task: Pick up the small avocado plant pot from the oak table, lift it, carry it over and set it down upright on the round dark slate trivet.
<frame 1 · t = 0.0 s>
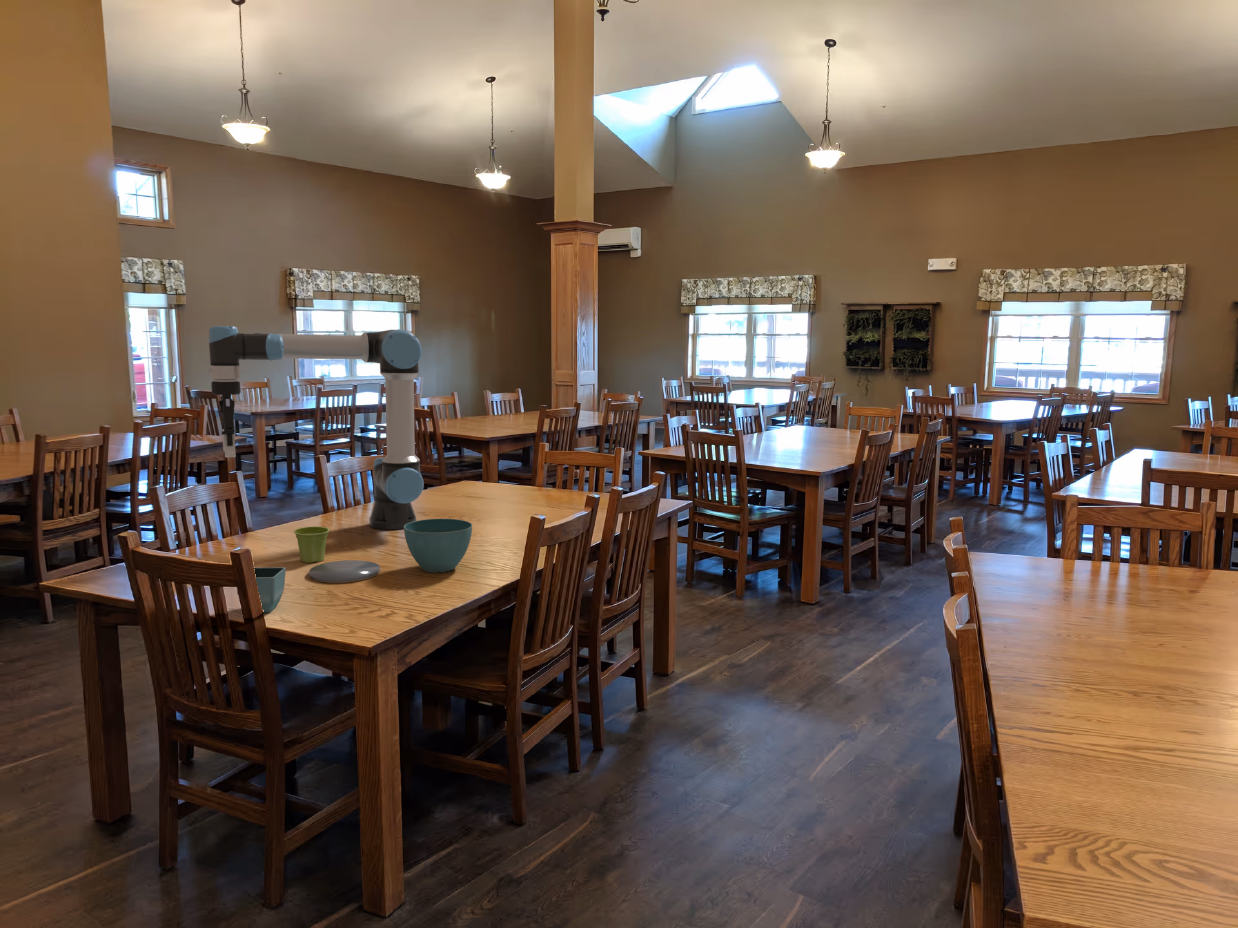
hand: (229, 454, 242), 28 cm above the table, fingers open, 13 cm apart
plant pot 2: (312, 560, 235), on the table
trivet: (345, 573, 222), on the table
plant pot: (438, 569, 229), on the table
flower pot: (262, 610, 192), on the table
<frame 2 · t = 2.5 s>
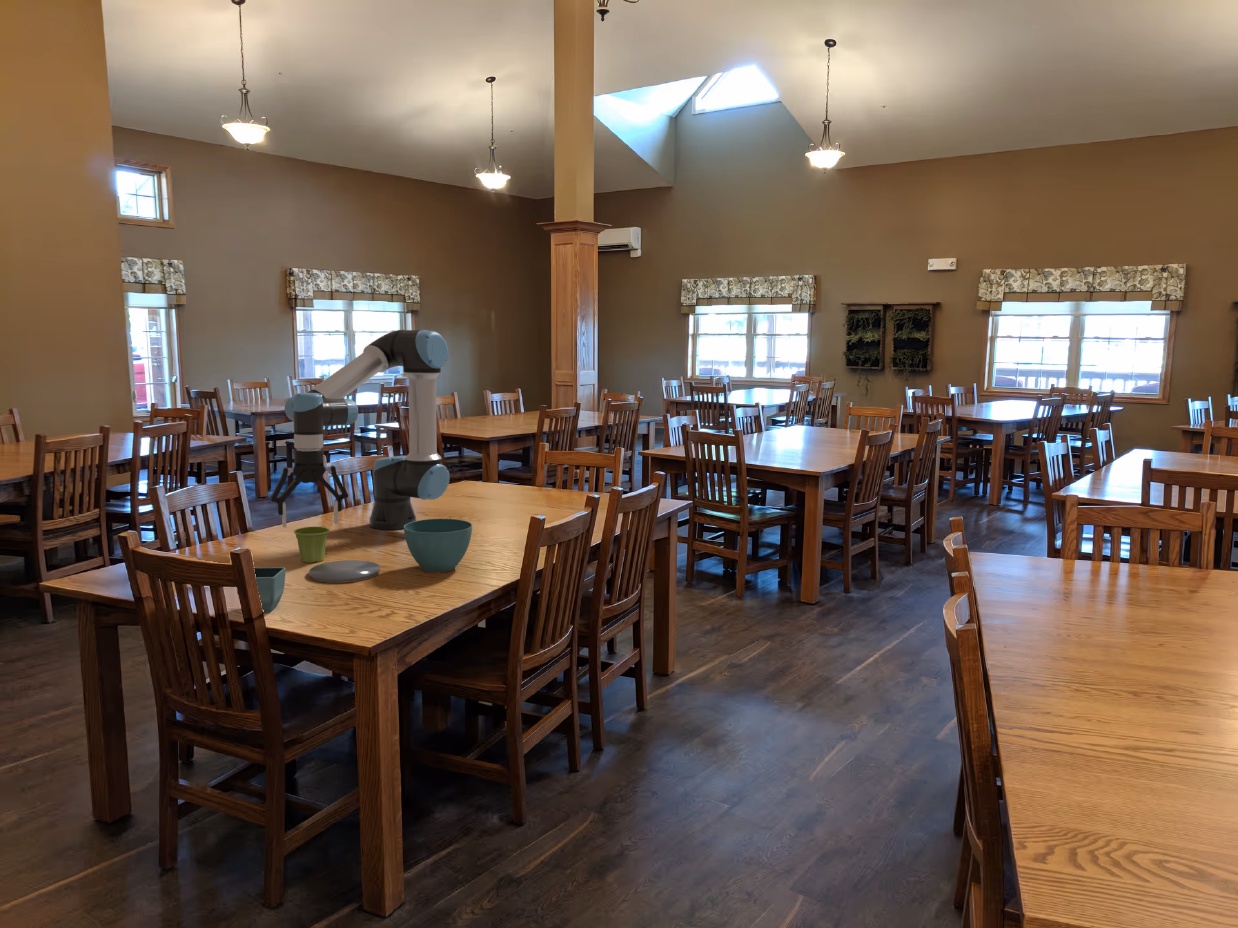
hand: (310, 524, 233), 10 cm above the table, fingers open, 13 cm apart
nothing on the table moved.
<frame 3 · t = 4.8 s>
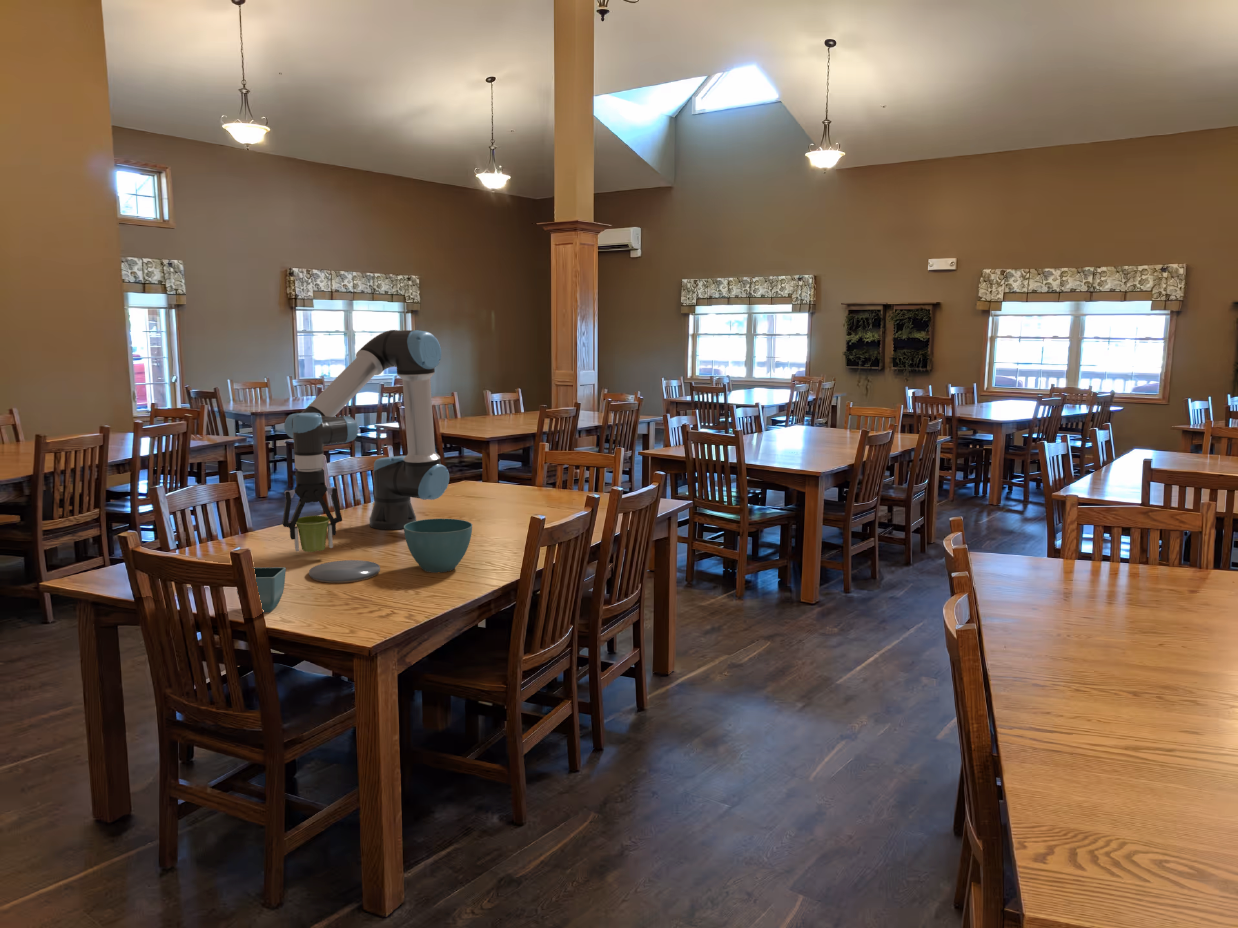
hand: (314, 548, 234), 3 cm above the table, fingers closed on plant pot 2, 8 cm apart
plant pot 2: (313, 550, 235), point 3 cm above the table, touching gripper
everything else where it was.
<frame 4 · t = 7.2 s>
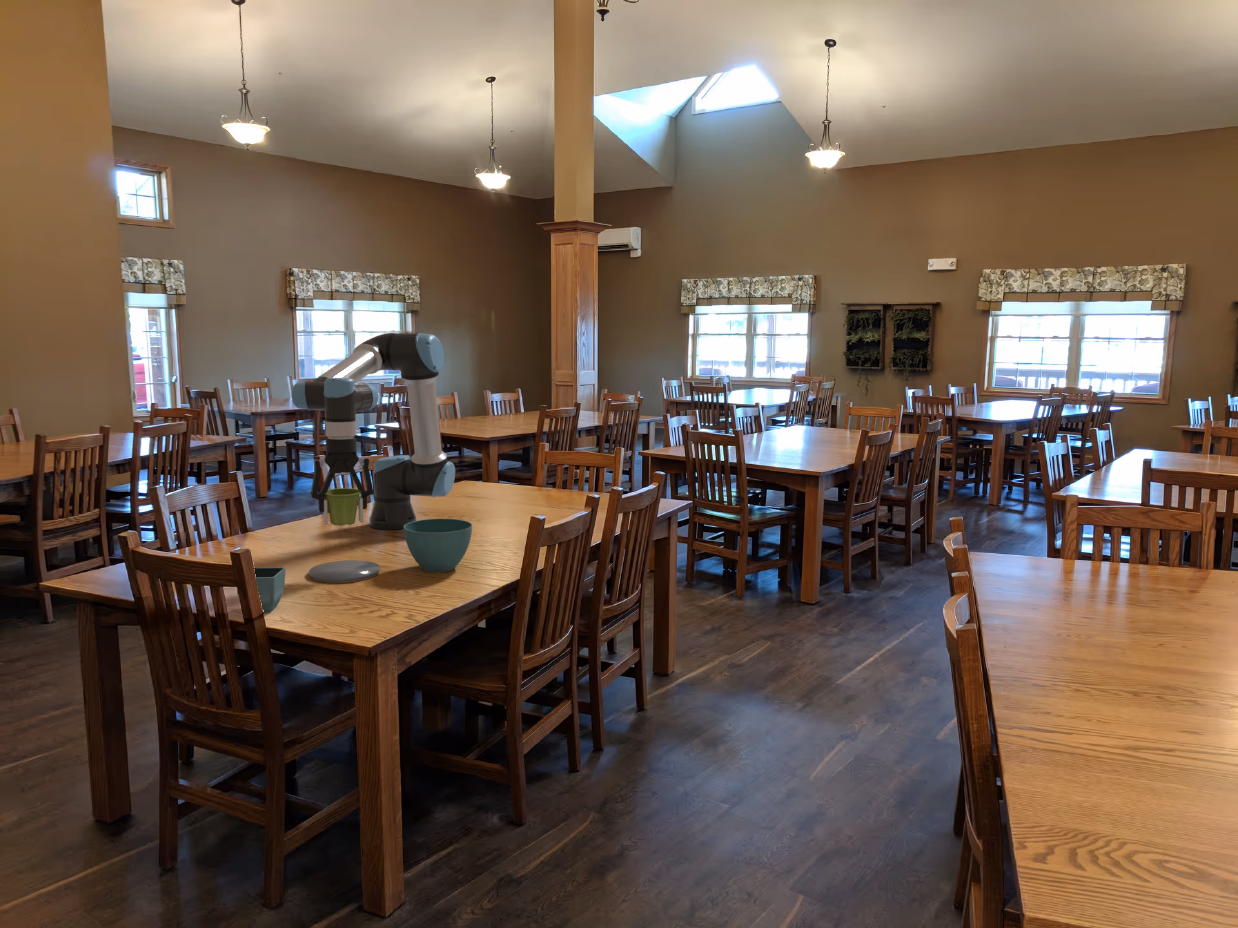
hand: (343, 522, 220), 14 cm above the table, fingers closed on plant pot 2, 8 cm apart
plant pot 2: (343, 524, 220), point 13 cm above the table, touching gripper
everything else where it was.
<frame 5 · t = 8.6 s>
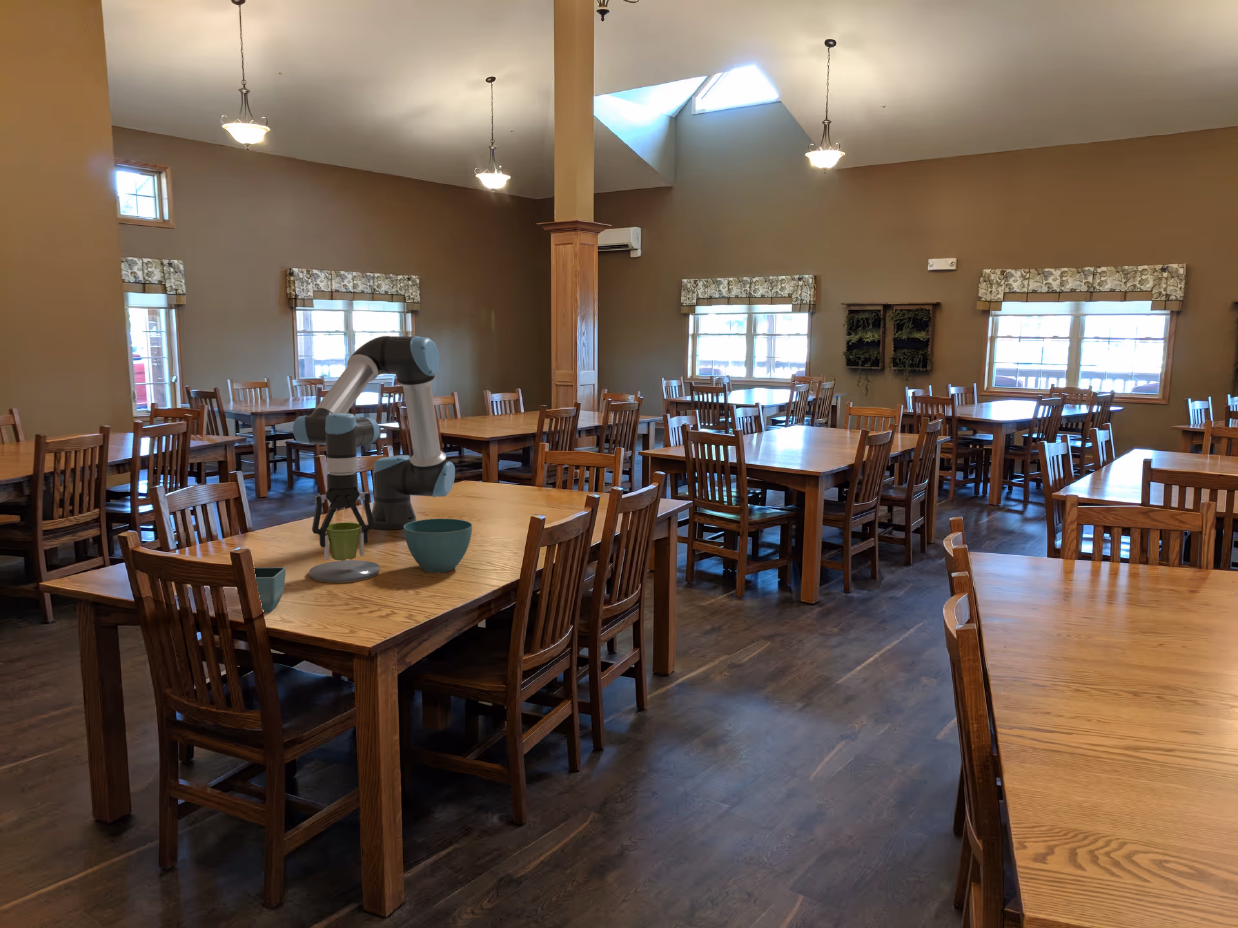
hand: (344, 556, 221), 5 cm above the table, fingers closed on plant pot 2, 8 cm apart
plant pot 2: (344, 558, 222), point 4 cm above the table, touching gripper
everything else where it was.
when the fingers open (2 cm above the table, at t = 9.7 s): plant pot 2 stays where it is, resting on trivet.
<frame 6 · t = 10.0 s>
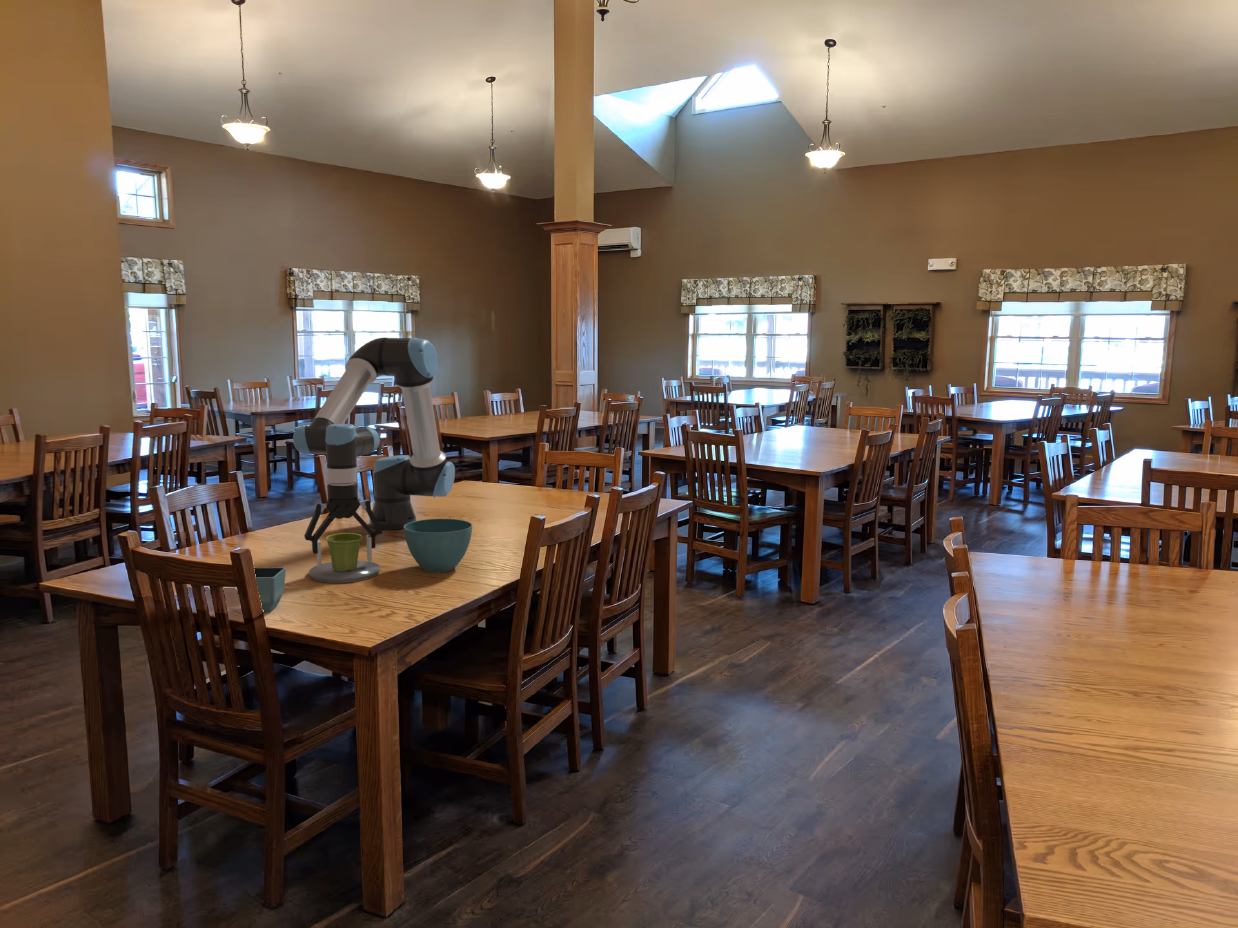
hand: (344, 562, 222), 3 cm above the table, fingers open, 12 cm apart
plant pot 2: (345, 569, 222), point 1 cm above the table, touching trivet
everything else where it was.
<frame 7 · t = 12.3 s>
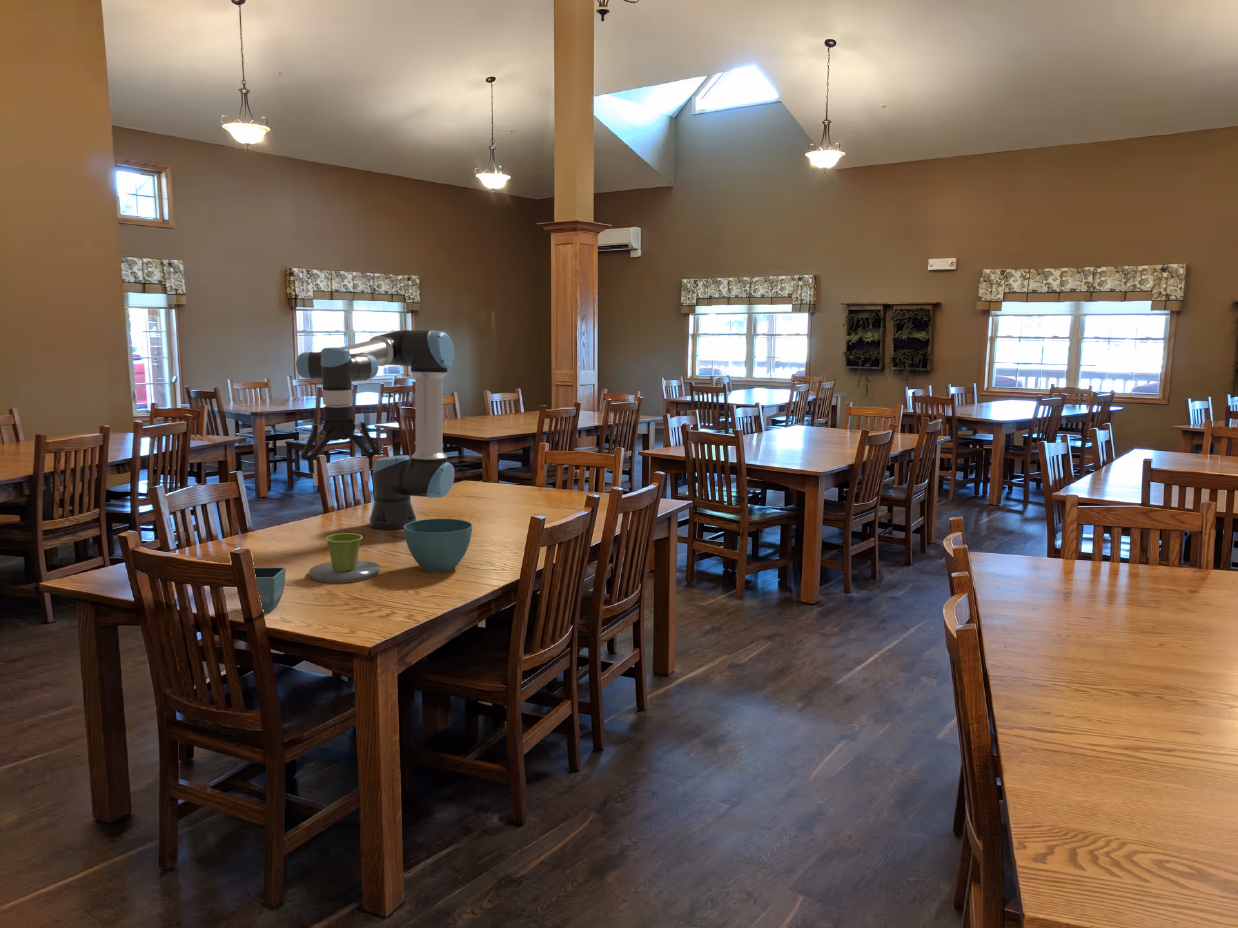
hand: (341, 482, 228), 23 cm above the table, fingers open, 13 cm apart
nothing on the table moved.
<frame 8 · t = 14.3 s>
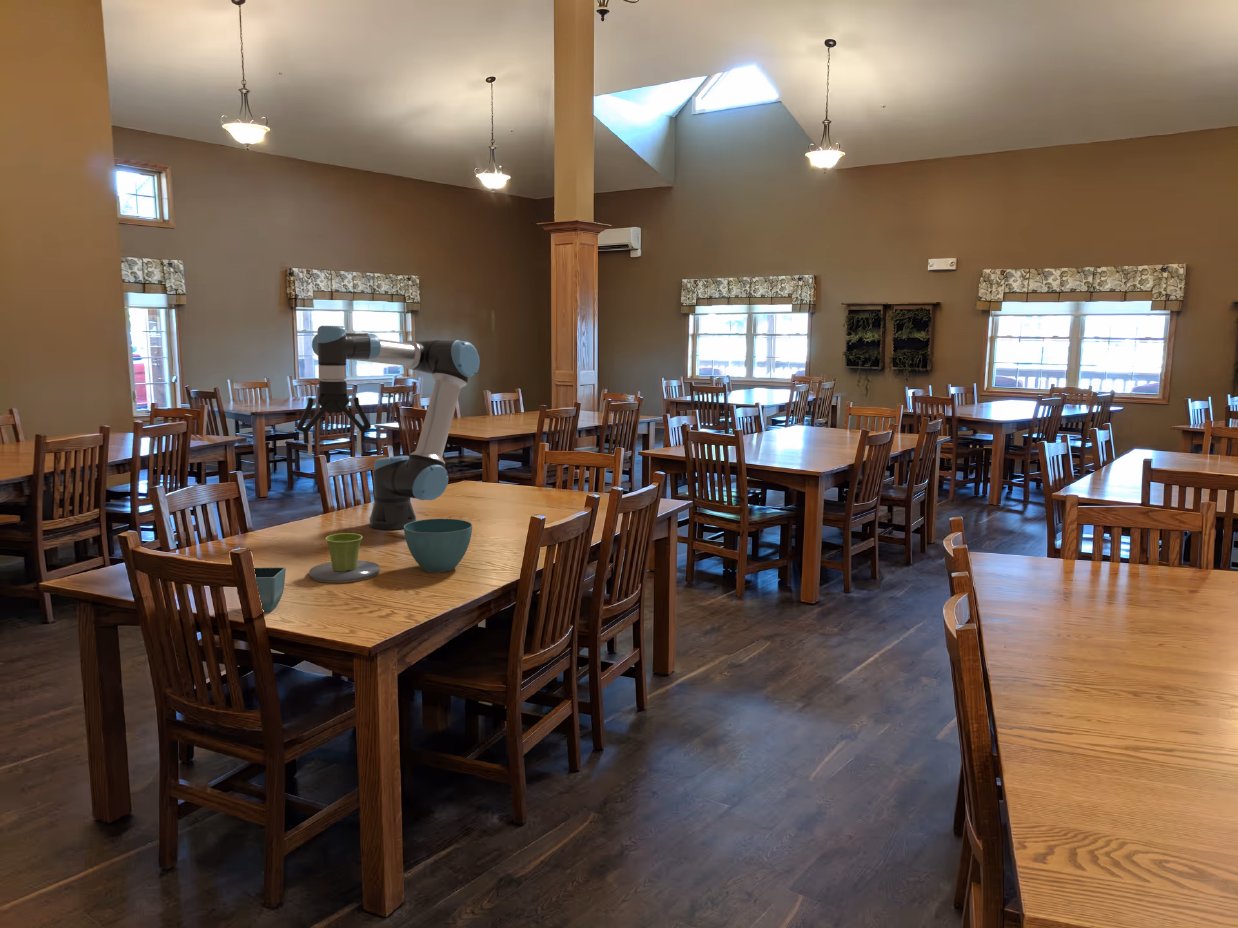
hand: (335, 454, 241), 29 cm above the table, fingers open, 13 cm apart
nothing on the table moved.
at the end: plant pot 2 inside the target area on the trivet (0.1 cm from its centre), point 1.0 cm above the trivet's base; plant pot 2 tilted 0°; the gripper is holding nothing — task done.
